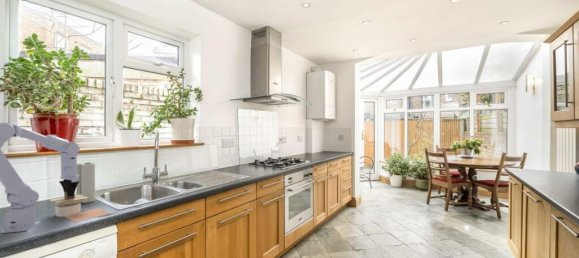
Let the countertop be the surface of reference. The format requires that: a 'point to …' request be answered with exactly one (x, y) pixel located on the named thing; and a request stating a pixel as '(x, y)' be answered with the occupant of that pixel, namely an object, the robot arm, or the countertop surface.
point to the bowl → (67, 209)
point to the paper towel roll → (86, 181)
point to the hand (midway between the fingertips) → (69, 195)
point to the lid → (68, 199)
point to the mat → (87, 215)
